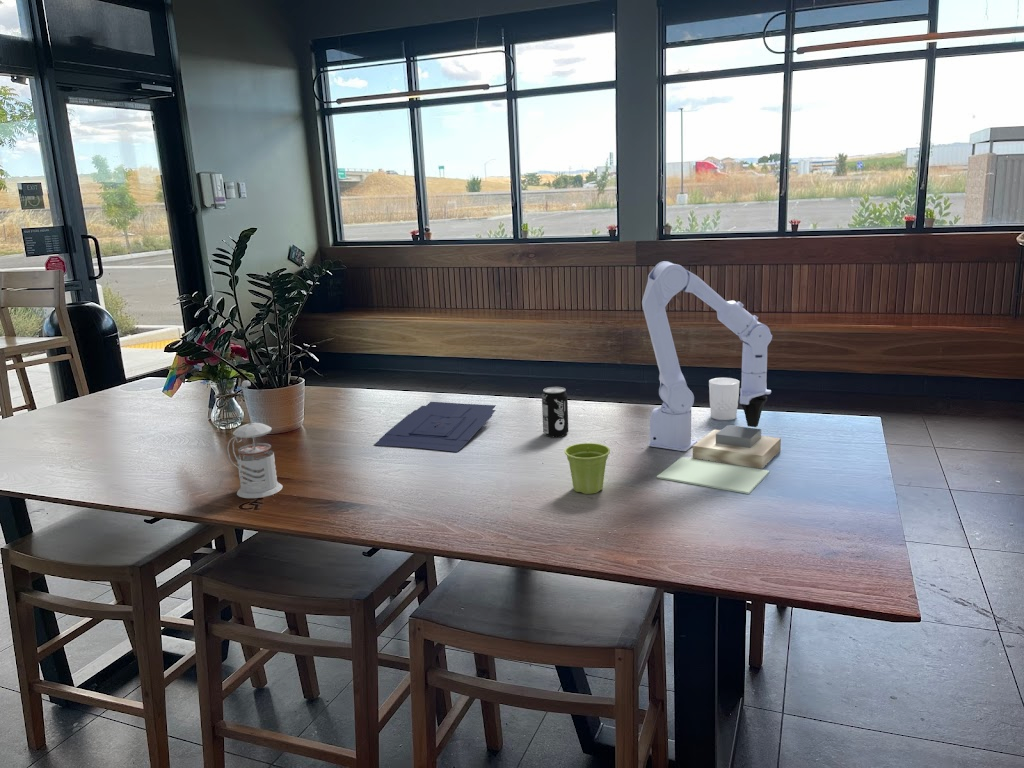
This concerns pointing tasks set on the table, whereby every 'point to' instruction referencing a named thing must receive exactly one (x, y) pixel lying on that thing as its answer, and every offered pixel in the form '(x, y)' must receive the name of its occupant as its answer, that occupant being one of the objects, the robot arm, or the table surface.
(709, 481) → the mat
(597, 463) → the plant pot
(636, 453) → the table surface
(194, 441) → the table surface
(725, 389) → the white cup
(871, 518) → the table surface
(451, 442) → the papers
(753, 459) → the board
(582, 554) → the table surface
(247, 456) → the french press
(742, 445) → the tile
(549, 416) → the beverage can
